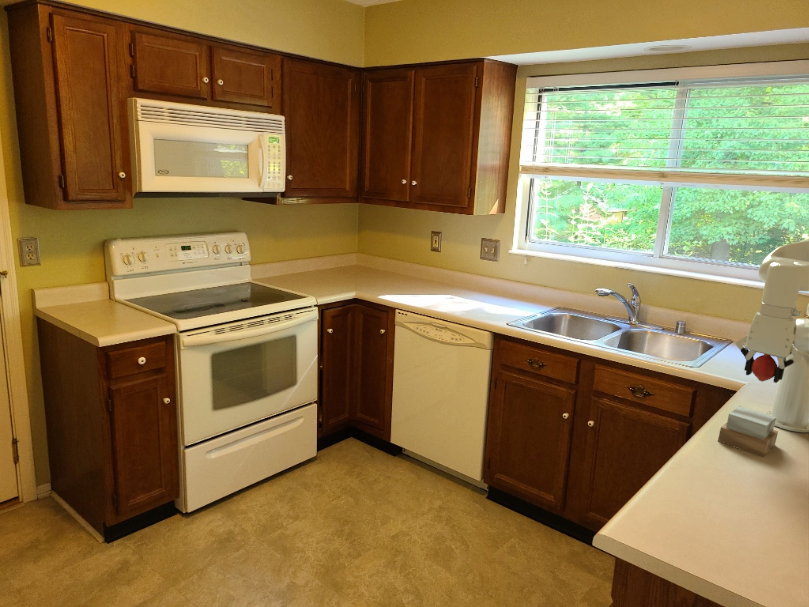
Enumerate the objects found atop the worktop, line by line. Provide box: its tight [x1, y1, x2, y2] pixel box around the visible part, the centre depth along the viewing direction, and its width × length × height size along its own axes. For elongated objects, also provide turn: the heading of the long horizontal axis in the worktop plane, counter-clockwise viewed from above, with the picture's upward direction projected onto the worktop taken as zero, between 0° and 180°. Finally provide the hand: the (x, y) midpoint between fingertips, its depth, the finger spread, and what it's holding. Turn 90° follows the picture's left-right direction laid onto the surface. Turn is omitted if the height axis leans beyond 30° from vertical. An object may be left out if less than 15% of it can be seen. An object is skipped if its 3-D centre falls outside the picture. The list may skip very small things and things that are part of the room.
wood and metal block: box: [717, 405, 779, 458], centre depth 162 cm, size 11×11×8 cm
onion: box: [751, 354, 778, 383], centre depth 157 cm, size 6×6×8 cm
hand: (762, 377), depth 158 cm, fingers closed on onion, 5 cm apart
